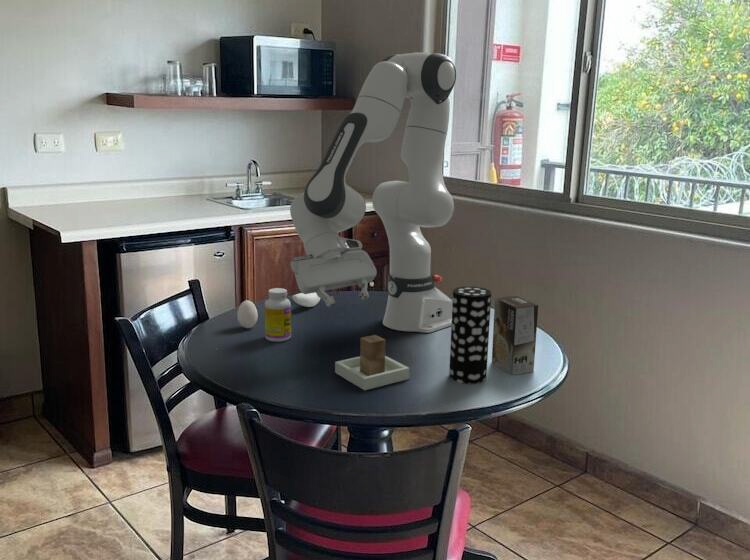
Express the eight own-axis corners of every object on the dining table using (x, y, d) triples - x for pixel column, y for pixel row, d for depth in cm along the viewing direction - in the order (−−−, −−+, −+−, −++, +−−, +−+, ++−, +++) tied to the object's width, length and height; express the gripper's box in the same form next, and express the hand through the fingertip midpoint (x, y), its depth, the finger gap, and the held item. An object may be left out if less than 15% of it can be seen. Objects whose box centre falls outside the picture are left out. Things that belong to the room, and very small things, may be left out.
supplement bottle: (286, 343, 182) (285, 294, 178) (261, 341, 183) (260, 292, 180) (294, 335, 188) (294, 288, 185) (270, 333, 189) (269, 286, 186)
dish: (378, 362, 170) (378, 352, 169) (409, 378, 160) (409, 368, 160) (335, 372, 163) (335, 361, 162) (364, 390, 154) (364, 379, 153)
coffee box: (535, 371, 166) (540, 305, 162) (512, 375, 163) (516, 308, 159) (512, 358, 174) (516, 295, 170) (489, 362, 171) (493, 297, 167)
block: (374, 367, 164) (375, 334, 162) (384, 373, 161) (385, 339, 159) (359, 371, 162) (360, 337, 160) (369, 377, 159) (370, 342, 157)
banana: (291, 313, 207) (291, 264, 203) (313, 296, 225) (312, 250, 221) (307, 315, 206) (307, 265, 202) (328, 297, 223) (328, 251, 220)
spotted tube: (476, 386, 157) (481, 298, 152) (442, 378, 161) (446, 292, 156) (492, 375, 163) (497, 290, 158) (458, 367, 168) (463, 284, 163)
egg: (239, 324, 196) (238, 297, 194) (259, 324, 196) (258, 297, 194) (236, 331, 191) (235, 303, 189) (256, 331, 191) (256, 303, 189)
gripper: (292, 250, 164) (314, 302, 159) (366, 240, 175) (389, 287, 170) (283, 266, 168) (305, 316, 163) (356, 254, 180) (378, 301, 175)
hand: (348, 301), depth 167 cm, fingers open, 8 cm apart
